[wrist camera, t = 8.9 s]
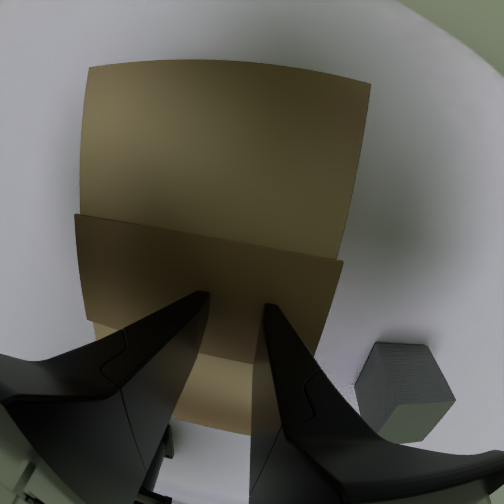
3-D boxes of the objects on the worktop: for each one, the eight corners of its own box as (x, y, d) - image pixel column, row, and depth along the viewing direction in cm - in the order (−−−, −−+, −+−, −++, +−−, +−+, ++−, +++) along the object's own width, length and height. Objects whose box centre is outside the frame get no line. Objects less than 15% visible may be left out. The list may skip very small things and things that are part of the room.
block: (403, 387, 18) (422, 441, 13) (354, 387, 18) (366, 446, 13) (427, 345, 16) (456, 400, 12) (375, 342, 16) (398, 405, 12)
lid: (281, 427, 13) (279, 442, 12) (114, 384, 13) (106, 396, 12) (371, 90, 7) (379, 85, 6) (98, 71, 8) (82, 67, 7)
